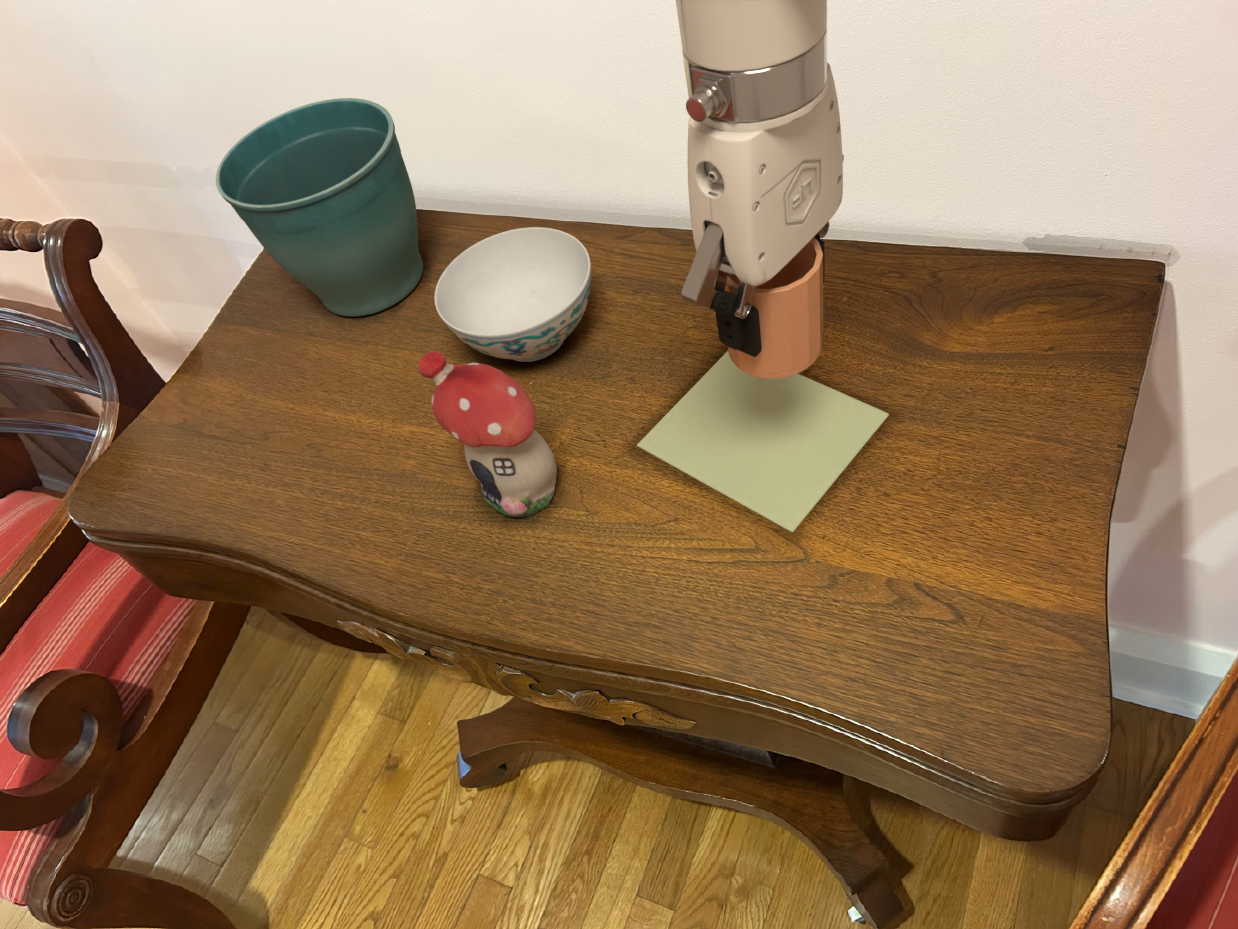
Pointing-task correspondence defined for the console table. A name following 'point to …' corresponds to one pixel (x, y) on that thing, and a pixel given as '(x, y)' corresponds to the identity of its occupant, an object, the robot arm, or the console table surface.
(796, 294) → the cup
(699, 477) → the mat
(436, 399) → the decorative ornament
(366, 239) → the flower pot
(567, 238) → the chinaware
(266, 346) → the console table surface
